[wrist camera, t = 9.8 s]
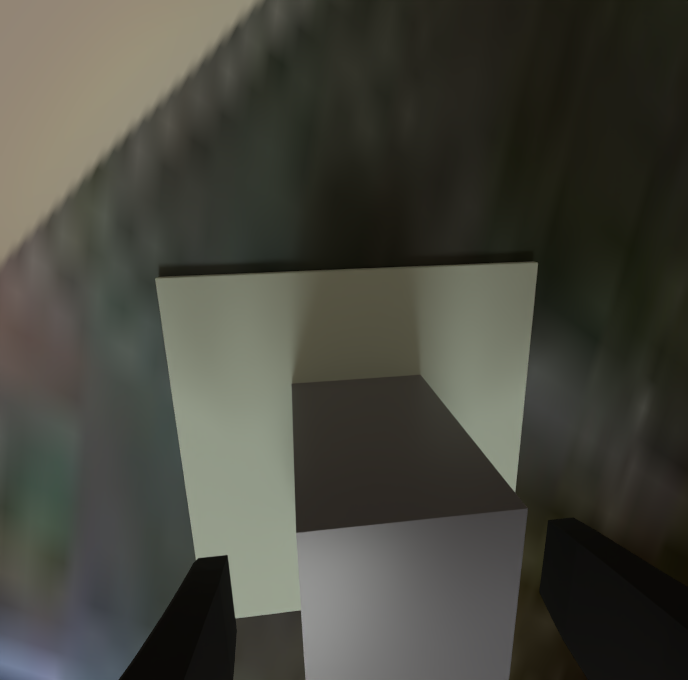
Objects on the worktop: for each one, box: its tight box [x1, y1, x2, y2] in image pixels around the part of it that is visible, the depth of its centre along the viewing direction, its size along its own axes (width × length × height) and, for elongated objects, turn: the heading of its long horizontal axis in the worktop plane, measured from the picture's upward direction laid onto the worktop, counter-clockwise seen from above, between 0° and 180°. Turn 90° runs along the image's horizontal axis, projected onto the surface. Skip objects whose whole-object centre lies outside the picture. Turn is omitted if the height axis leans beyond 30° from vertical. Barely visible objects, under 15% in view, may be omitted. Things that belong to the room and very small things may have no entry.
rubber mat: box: [155, 261, 538, 618], centre depth 15 cm, size 12×11×1 cm
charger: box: [291, 375, 528, 680], centre depth 11 cm, size 5×4×6 cm
